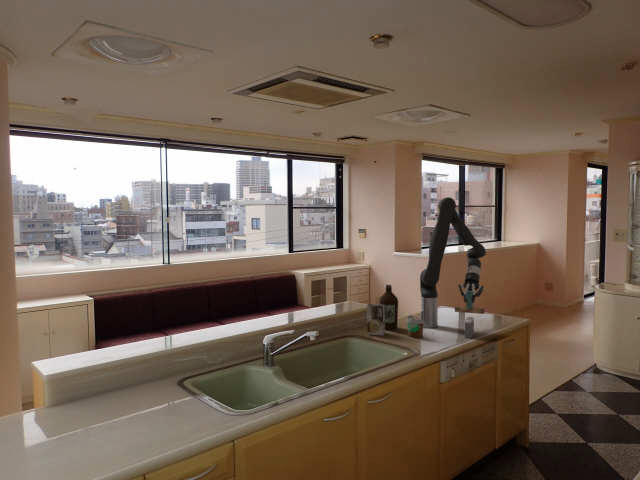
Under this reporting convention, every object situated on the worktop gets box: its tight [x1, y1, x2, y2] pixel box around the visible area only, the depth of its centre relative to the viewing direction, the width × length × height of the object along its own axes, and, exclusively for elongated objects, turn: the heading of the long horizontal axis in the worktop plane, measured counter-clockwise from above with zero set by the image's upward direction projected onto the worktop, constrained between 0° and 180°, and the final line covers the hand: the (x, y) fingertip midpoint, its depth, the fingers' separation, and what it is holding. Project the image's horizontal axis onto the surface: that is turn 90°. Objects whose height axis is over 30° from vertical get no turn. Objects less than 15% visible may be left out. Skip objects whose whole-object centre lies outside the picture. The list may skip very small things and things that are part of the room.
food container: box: [405, 315, 424, 339], centre depth 258 cm, size 12×6×10 cm, turn 21°
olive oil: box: [378, 284, 399, 331], centre depth 275 cm, size 11×11×25 cm
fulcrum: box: [464, 316, 475, 339], centre depth 257 cm, size 3×10×9 cm, turn 153°
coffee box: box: [366, 303, 386, 336], centre depth 265 cm, size 9×6×16 cm
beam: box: [454, 291, 486, 315], centre depth 256 cm, size 15×3×11 cm, turn 63°
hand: (468, 301), depth 254 cm, fingers closed on beam, 3 cm apart
